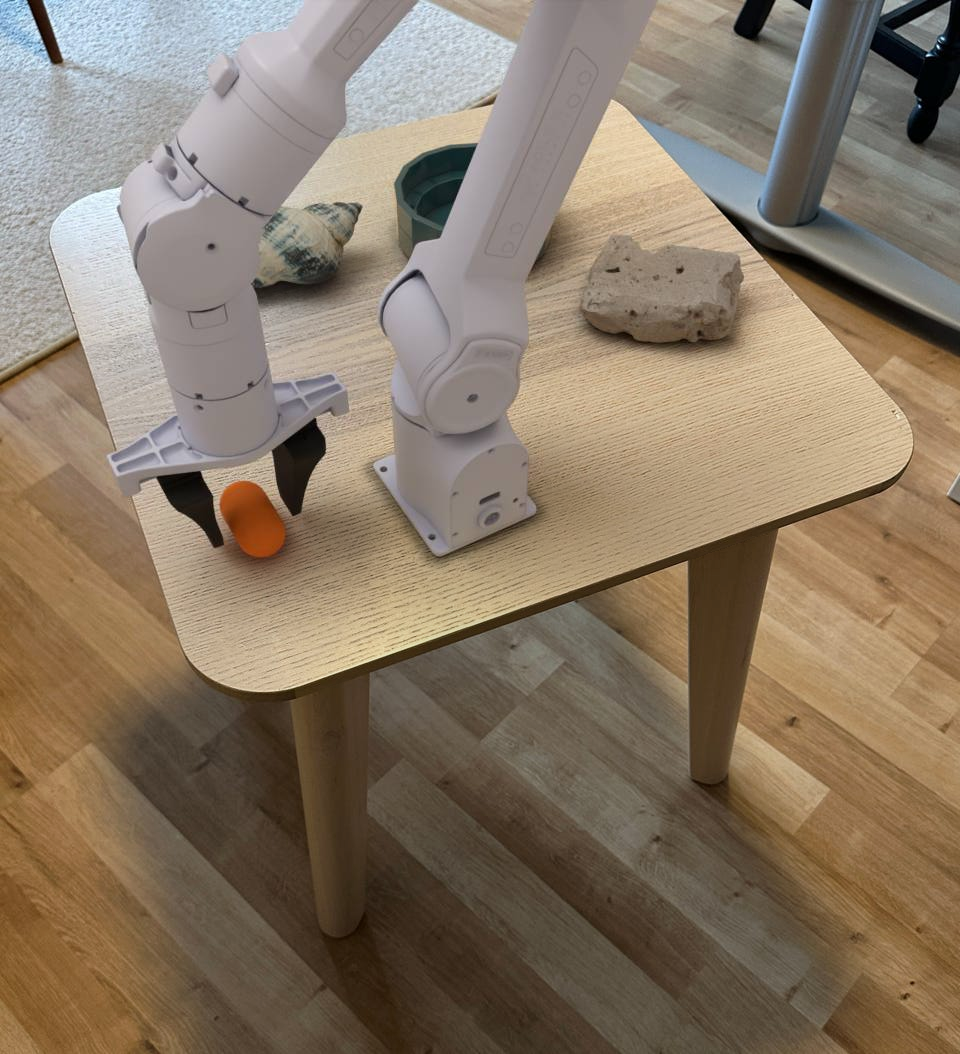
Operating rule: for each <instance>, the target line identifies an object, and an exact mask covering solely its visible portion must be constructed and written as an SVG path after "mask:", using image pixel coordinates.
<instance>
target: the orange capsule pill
mask: <svg viewBox="0 0 960 1054" xmlns="http://www.w3.org/2000/svg"><path fill="white" fill-rule="evenodd" d="M220 495H221V496H220V498H219V511H220V514H221V516H222V518H223V520H224V521H225V523H226V526H227V527H228V528H229V530H230V532H231V534H232V536H233V538H234V539H235V541H236V543H237V544H238V546H239V547H240V549H241V550H242V551H243V552H244V553H245V554H247V555H249V556H251V557H253V558H267V557H270V556H273V555H275V554H276V553H277V552H279V550H280V549H281V548H282V547H283V545H284V543H285V540H286V535H287V533H286V525H285V523H284V521H283V519H282V518H281V516H280V514H279V513H278V511H277V509H276V508H275V506H274V505H273V503H272V501H271V499H270V498H269V496H268V495H267V493H266V491H265V490H264V489H263V488H262V486H260V485H259V484H257V483H256V482H253V481H250V480H238V481H235V482H232V483H231V484H229V485H227V487H225V489H223V492H222V493H221V494H220Z"/></svg>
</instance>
